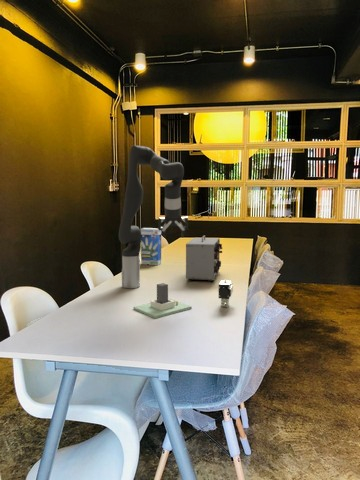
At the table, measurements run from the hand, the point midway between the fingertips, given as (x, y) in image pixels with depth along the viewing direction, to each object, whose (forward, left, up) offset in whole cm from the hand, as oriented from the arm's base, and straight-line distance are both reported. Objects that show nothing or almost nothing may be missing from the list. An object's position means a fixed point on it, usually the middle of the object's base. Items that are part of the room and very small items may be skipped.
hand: (173, 237), depth 178 cm
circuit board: (-3, -19, -30) cm, 35 cm away
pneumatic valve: (+25, -13, -30) cm, 41 cm away
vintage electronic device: (+15, +47, -30) cm, 58 cm away
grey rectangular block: (-3, -19, -29) cm, 35 cm away
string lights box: (-24, +85, -30) cm, 93 cm away
